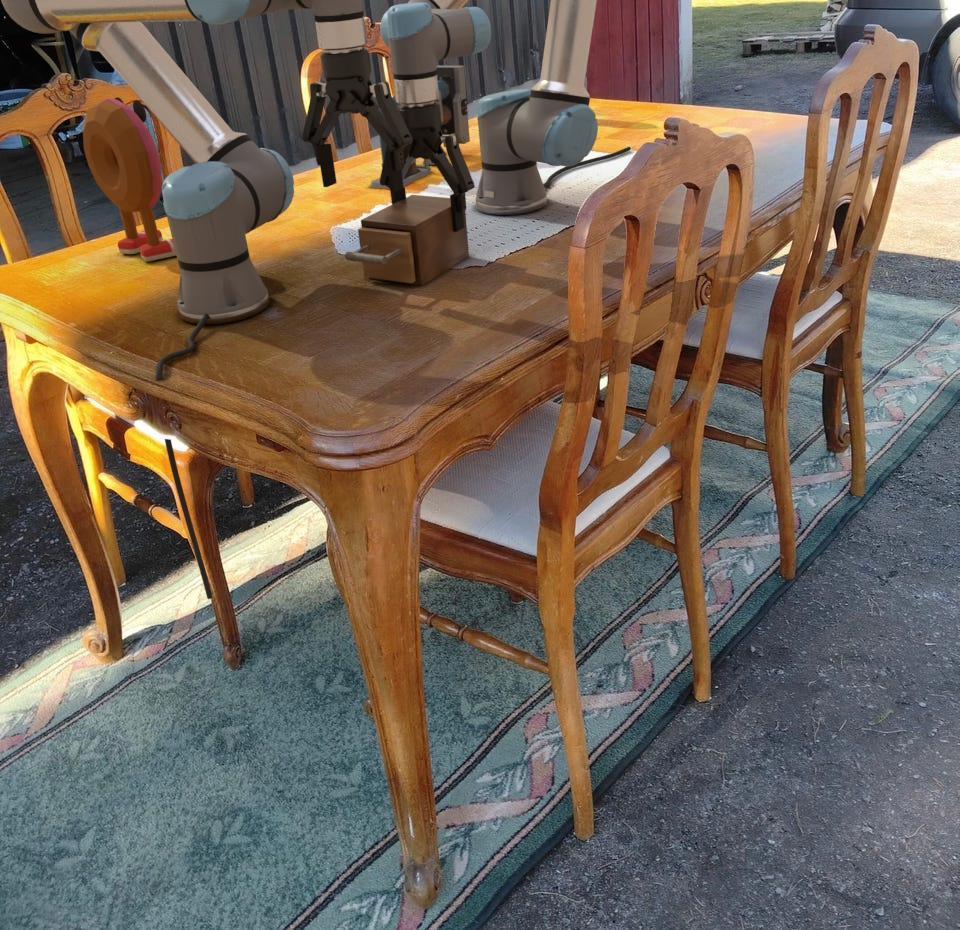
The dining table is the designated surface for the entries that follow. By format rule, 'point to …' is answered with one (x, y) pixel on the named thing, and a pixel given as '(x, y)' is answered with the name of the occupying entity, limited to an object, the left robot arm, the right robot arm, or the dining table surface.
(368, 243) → the drawer
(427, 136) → the right robot arm
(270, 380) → the dining table surface
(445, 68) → the clamp
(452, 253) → the cabinet
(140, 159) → the toy
